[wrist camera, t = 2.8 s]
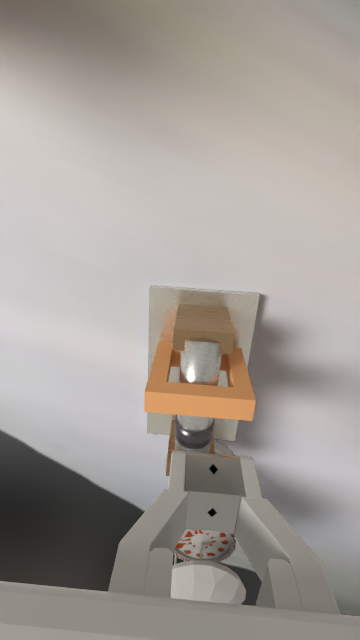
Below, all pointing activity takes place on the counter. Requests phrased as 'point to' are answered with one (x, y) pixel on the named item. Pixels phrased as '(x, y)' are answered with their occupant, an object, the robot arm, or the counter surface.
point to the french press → (206, 563)
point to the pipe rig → (198, 355)
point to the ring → (200, 389)
